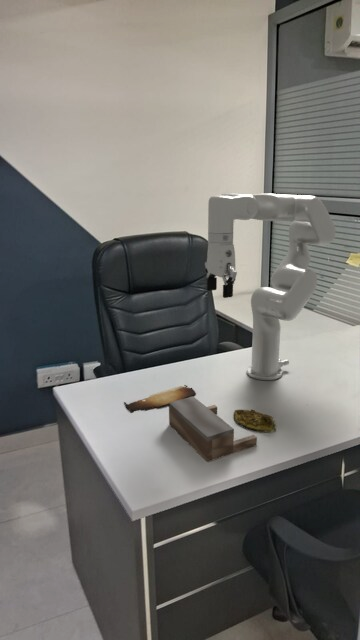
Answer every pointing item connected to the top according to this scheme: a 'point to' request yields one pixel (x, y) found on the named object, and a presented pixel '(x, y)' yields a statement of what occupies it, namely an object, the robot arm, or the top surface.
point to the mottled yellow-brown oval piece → (255, 421)
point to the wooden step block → (205, 429)
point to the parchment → (161, 399)
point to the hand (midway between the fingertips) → (219, 293)
